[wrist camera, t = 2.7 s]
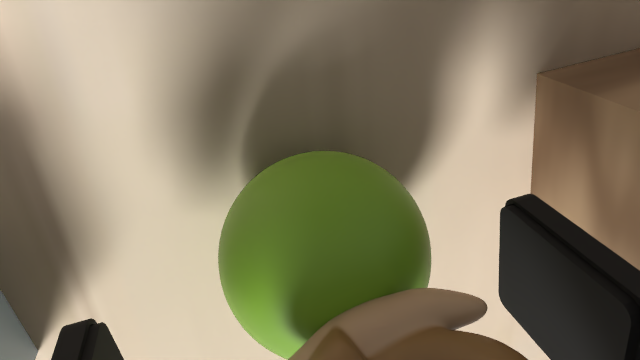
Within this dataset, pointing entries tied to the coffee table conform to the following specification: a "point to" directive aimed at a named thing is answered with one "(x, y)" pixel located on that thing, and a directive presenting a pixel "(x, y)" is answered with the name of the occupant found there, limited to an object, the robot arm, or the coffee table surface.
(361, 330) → the snail figurine
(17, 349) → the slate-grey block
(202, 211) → the coffee table surface
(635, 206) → the walnut block
